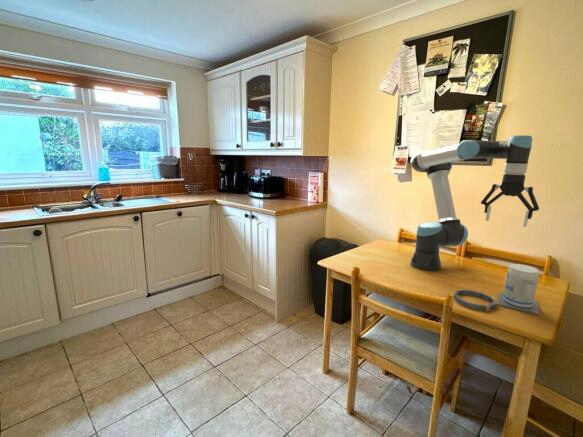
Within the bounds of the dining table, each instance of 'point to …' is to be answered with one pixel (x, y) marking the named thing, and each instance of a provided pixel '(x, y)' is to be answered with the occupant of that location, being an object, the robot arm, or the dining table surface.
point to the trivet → (503, 303)
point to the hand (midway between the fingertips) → (505, 223)
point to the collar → (473, 305)
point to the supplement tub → (521, 285)
